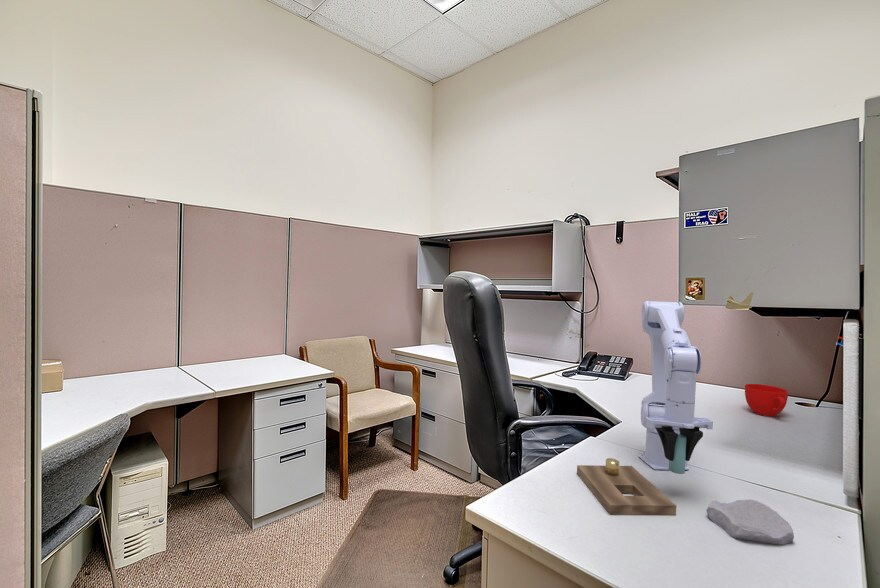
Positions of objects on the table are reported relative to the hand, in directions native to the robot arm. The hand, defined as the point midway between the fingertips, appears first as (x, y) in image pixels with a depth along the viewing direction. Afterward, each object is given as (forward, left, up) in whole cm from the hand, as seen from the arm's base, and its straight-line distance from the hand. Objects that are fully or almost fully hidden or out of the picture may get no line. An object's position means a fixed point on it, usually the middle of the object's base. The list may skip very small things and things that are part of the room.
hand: (677, 459), depth 92 cm
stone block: (-7, +13, -9) cm, 17 cm away
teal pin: (0, 0, -3) cm, 3 cm away
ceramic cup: (-73, -58, -9) cm, 94 cm away
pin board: (+12, -1, -8) cm, 15 cm away
